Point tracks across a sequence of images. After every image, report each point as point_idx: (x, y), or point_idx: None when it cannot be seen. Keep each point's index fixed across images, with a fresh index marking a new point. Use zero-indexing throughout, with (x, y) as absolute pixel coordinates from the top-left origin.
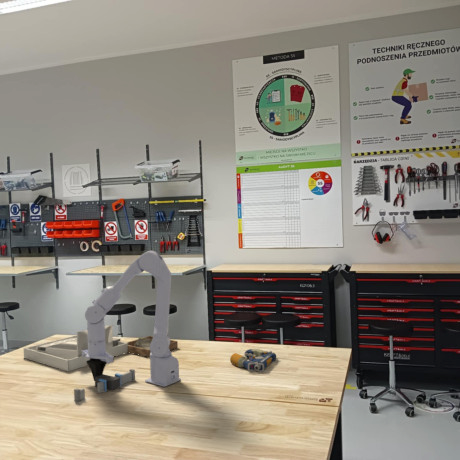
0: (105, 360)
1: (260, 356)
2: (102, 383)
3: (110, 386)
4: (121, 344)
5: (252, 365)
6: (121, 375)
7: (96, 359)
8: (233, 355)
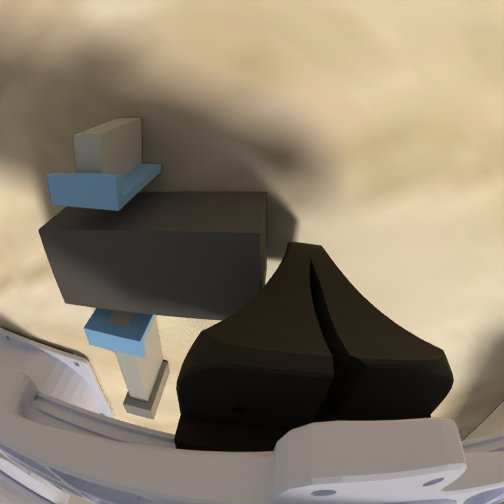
0: (71, 419)
1: None
2: (80, 168)
3: (79, 207)
4: None
5: None
6: (89, 335)
7: (271, 447)
8: None
